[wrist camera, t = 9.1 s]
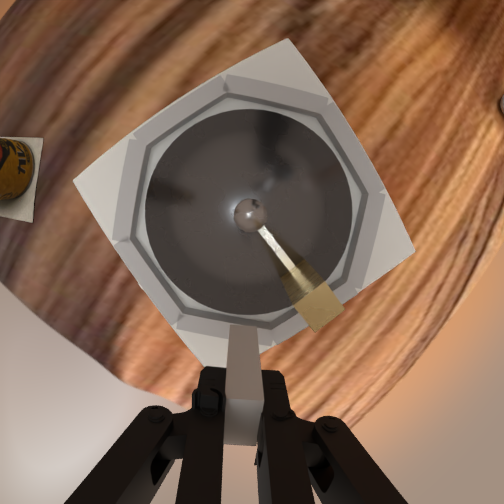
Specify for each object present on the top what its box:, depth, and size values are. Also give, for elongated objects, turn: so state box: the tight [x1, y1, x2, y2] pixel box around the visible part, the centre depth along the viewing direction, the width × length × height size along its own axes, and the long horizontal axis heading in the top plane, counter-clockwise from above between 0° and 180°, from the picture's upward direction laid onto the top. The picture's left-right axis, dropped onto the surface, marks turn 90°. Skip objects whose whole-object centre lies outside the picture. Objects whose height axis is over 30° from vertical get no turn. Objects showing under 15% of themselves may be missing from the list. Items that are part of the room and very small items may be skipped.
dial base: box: [73, 38, 416, 368], centre depth 25 cm, size 22×22×4 cm
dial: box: [145, 109, 352, 332], centre depth 21 cm, size 16×16×7 cm
